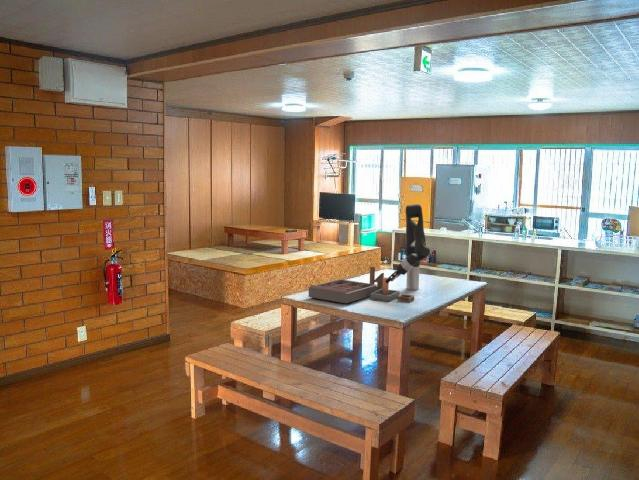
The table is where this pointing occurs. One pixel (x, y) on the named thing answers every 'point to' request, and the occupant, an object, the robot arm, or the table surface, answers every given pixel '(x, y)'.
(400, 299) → the dowel collar
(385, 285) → the dowel
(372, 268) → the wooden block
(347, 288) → the organizer tray
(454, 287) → the table surface
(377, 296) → the tray
